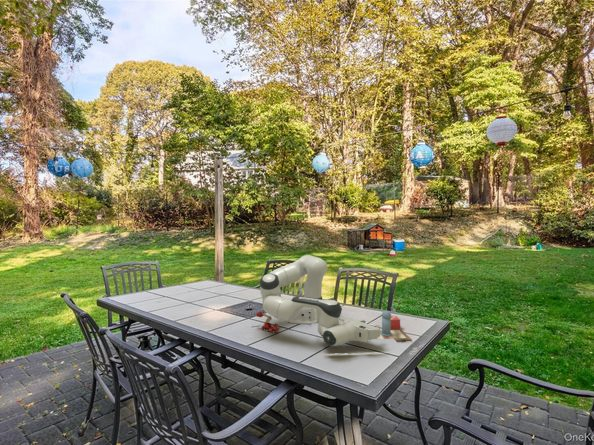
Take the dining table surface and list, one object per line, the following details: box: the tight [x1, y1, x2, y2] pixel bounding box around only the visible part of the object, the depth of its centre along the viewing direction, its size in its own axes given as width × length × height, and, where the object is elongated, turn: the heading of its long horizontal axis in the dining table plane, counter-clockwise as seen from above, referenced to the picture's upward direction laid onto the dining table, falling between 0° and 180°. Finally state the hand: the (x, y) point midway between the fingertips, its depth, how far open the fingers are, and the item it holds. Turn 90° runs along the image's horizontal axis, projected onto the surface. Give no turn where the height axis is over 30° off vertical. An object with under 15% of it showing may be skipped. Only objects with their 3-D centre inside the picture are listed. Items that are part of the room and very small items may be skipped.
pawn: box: [380, 310, 392, 337], centre depth 177 cm, size 6×6×13 cm
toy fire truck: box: [256, 311, 280, 334], centre depth 187 cm, size 3×14×10 cm, turn 59°
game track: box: [374, 328, 413, 343], centre depth 177 cm, size 34×14×1 cm, turn 94°
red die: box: [391, 315, 401, 330], centre depth 190 cm, size 6×6×6 cm
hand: (371, 324), depth 170 cm, fingers open, 8 cm apart
